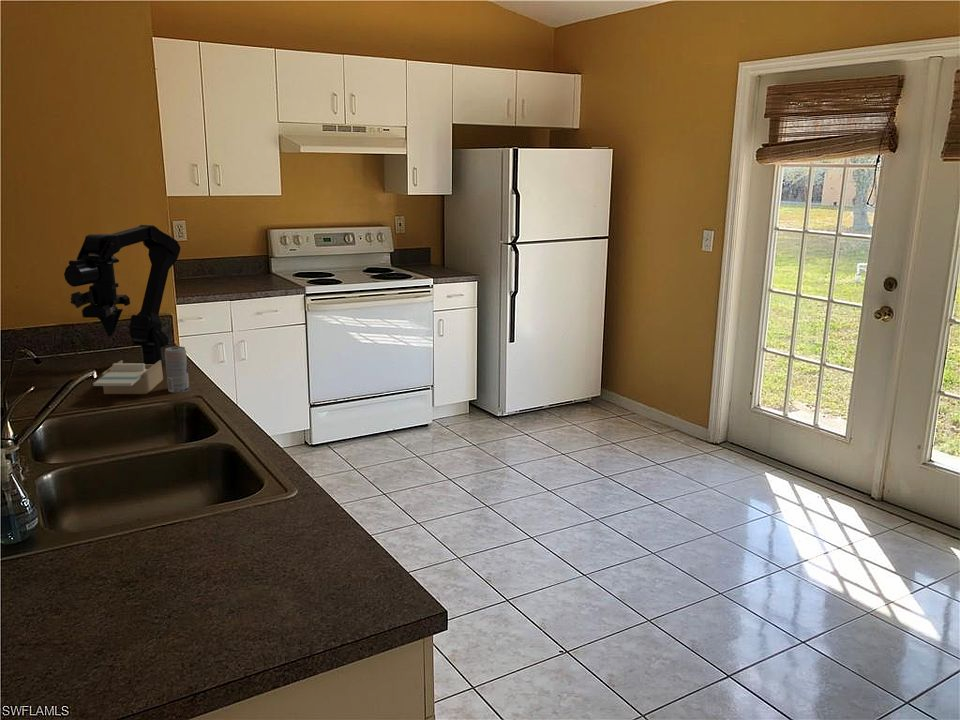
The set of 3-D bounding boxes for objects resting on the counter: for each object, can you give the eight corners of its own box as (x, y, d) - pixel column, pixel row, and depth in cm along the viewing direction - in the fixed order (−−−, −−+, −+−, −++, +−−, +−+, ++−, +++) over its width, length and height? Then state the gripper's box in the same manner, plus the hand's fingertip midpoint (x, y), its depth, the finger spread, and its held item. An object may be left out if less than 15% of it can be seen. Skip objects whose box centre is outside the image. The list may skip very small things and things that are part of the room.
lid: (113, 371, 208) (112, 362, 208) (149, 371, 209) (148, 362, 208) (93, 385, 196) (92, 376, 196) (131, 385, 197) (130, 376, 196)
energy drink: (188, 387, 213) (184, 345, 209) (190, 393, 208) (187, 350, 205) (167, 390, 210) (163, 347, 207) (169, 395, 206) (165, 352, 202)
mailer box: (123, 381, 217) (120, 360, 215) (163, 381, 218) (161, 360, 216) (104, 396, 205) (101, 373, 203) (146, 395, 205) (144, 373, 204)
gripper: (87, 275, 220) (94, 328, 225) (58, 286, 203) (65, 344, 207) (127, 275, 221) (133, 328, 225) (101, 286, 203) (108, 344, 208)
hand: (110, 336), depth 216 cm, fingers closed
